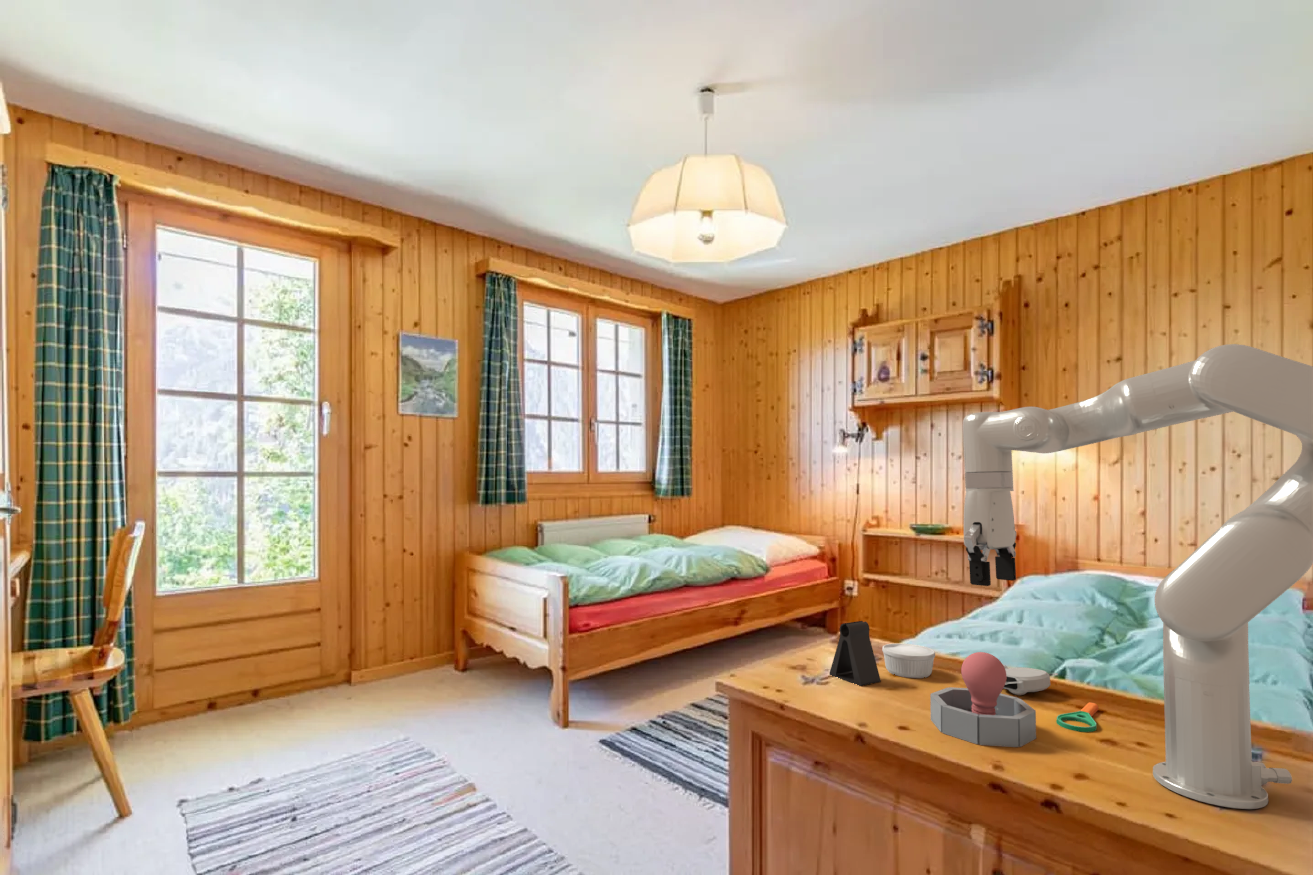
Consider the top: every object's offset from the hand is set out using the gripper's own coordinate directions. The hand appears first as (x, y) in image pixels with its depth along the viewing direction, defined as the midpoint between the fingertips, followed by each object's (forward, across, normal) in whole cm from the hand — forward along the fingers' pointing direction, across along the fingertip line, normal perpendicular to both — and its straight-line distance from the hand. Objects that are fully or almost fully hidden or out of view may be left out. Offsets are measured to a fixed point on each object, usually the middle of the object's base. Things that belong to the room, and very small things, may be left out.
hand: (993, 582), depth 115 cm
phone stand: (+25, -8, -34) cm, 43 cm away
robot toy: (+26, -29, -11) cm, 40 cm away
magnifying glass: (+27, -20, +6) cm, 34 cm away
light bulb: (+25, -1, -3) cm, 25 cm away
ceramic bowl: (+26, -1, -4) cm, 26 cm away
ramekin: (+25, -22, -29) cm, 44 cm away
